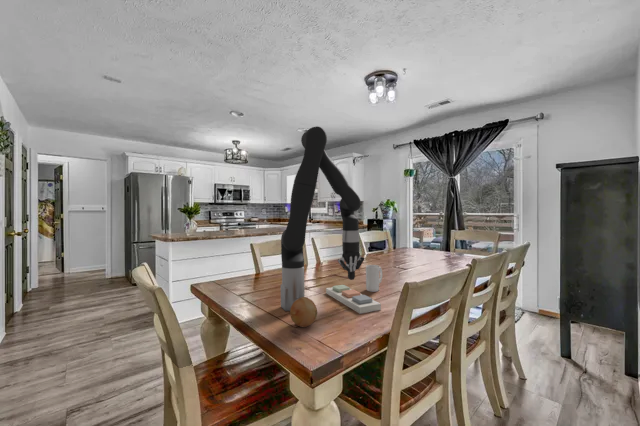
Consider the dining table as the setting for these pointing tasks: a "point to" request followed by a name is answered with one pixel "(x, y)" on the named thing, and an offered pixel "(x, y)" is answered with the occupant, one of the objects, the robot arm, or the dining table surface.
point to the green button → (340, 288)
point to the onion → (303, 312)
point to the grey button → (362, 299)
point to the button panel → (353, 305)
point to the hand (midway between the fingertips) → (351, 279)
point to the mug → (373, 277)
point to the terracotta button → (350, 293)
